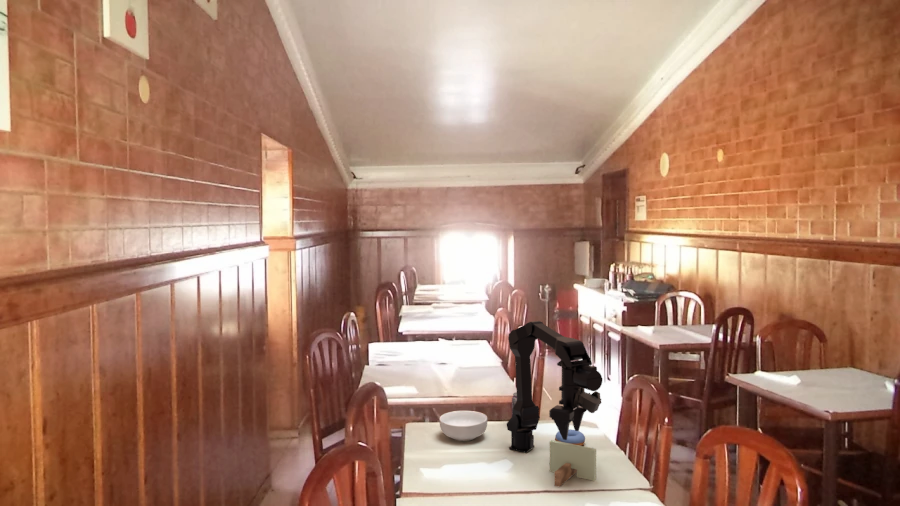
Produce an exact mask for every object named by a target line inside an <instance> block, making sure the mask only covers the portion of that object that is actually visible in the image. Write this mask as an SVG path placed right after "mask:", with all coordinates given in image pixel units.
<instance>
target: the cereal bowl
mask: <svg viewBox="0 0 900 506" xmlns="http://www.w3.org/2000/svg"><path fill="white" fill-rule="evenodd" d="M439 427H440V431H441V432H442V433H443V434H444V435H445V436H447V437H449V438H451V439H454V441H458V442H470V441H473V440H474V439H476V438H478V437H480V436H482V434H484V433H485V432H486V431H487V427H488V416H487V414H485V413H482V412H480V411H473V410H454V411H449V412H445V413H443V414H442V415H440V417H439Z"/></svg>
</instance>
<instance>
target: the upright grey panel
mask: <svg viewBox="0 0 900 506" xmlns="http://www.w3.org/2000/svg"><path fill="white" fill-rule="evenodd" d="M565 463H570V464H571V468H573V469H577V472H576V478H580V479H583V480H584V479H585V480H588V481H593V482H594V481H596V480H597V448H594V447H588V446H585V445H584V446H583V445H582V446H579V445H574V444H569V443H564V442H559V441H555V439H554V440H553V439H551V440H550V441H549V472H551V473H552V472H553V473H555V471H556V470H558V469H559V468H560V467H561V466H563V465H564V464H565Z"/></svg>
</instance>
